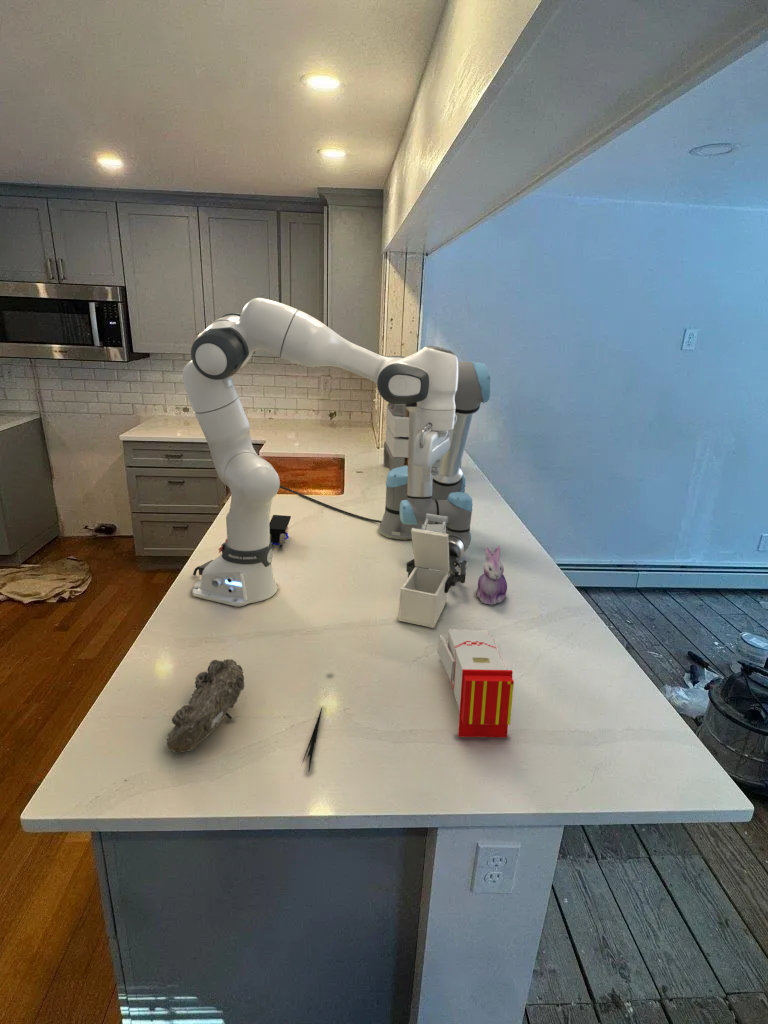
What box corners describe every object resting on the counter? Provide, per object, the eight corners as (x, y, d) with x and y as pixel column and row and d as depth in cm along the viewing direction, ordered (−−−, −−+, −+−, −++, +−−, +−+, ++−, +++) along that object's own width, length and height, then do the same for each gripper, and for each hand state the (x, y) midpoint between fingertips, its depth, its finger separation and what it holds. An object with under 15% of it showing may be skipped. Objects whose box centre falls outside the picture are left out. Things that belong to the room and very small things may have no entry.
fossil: (192, 660, 117) (244, 628, 112) (224, 691, 120) (276, 661, 115) (142, 746, 98) (202, 712, 93) (182, 779, 101) (242, 748, 96)
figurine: (489, 609, 152) (495, 558, 146) (466, 592, 160) (471, 543, 155) (516, 602, 156) (523, 552, 151) (493, 586, 164) (499, 538, 159)
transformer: (382, 463, 289) (386, 382, 275) (445, 464, 293) (451, 384, 279) (390, 482, 257) (394, 392, 243) (460, 483, 261) (468, 394, 247)
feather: (331, 679, 122) (336, 673, 122) (307, 777, 96) (313, 769, 95) (324, 675, 122) (329, 669, 121) (298, 772, 95) (304, 764, 95)
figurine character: (285, 555, 182) (292, 533, 195) (285, 534, 178) (291, 513, 192) (264, 554, 181) (272, 532, 195) (263, 534, 178) (271, 512, 191)
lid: (447, 537, 140) (455, 511, 145) (410, 530, 142) (419, 506, 147) (448, 572, 151) (455, 547, 156) (414, 566, 153) (422, 542, 159)
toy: (488, 613, 130) (523, 677, 101) (484, 667, 133) (517, 744, 104) (435, 612, 130) (455, 676, 101) (432, 666, 133) (451, 743, 103)
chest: (433, 628, 141) (437, 595, 138) (398, 620, 144) (400, 588, 141) (445, 603, 154) (449, 572, 151) (412, 596, 157) (415, 566, 154)
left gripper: (436, 429, 120) (431, 491, 124) (458, 415, 138) (453, 469, 143) (408, 426, 122) (404, 487, 126) (433, 412, 140) (429, 466, 145)
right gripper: (484, 571, 167) (467, 605, 147) (412, 557, 174) (387, 588, 155) (486, 548, 165) (469, 579, 145) (414, 535, 172) (388, 563, 152)
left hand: (430, 478), depth 135 cm, fingers open, 5 cm apart
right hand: (427, 584), depth 150 cm, fingers closed on chest, 9 cm apart
